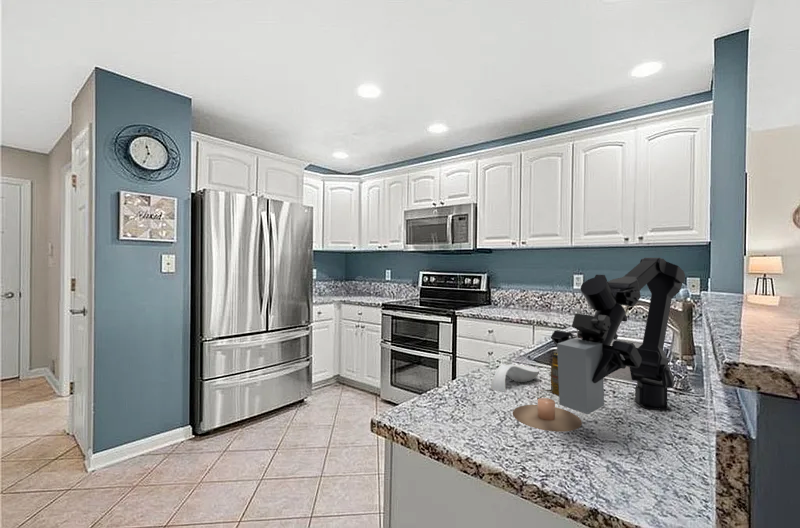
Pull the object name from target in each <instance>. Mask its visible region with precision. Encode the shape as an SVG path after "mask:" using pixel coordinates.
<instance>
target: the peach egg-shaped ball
mask: <svg viewBox="0 0 800 528" xmlns="http://www.w3.org/2000/svg"><path fill="white" fill-rule="evenodd" d="M537 405H538V417H539V418H541V419H543V420H554V419H555V407H556V401H555V400H554V399H552V398H548V397H540V398H538V399H537Z"/></svg>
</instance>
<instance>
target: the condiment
mask: <svg viewBox="0 0 800 528" xmlns="http://www.w3.org/2000/svg"><path fill="white" fill-rule="evenodd" d="M539 391H540V392H541V391H542V392H551V393H552V394H554V395H556V396H559V381H558V356H557V352H553V353H552V362H551V364H550V389H539Z"/></svg>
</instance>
